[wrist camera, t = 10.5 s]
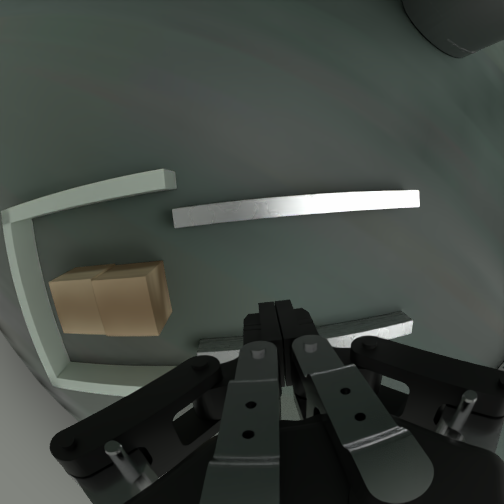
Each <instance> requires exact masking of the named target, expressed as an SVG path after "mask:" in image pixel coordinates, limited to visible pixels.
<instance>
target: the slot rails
mask: <svg viewBox="0 0 504 504" xmlns="http://www.w3.org/2000/svg"><path fill="white" fill-rule="evenodd" d="M406 207H420V205H419V190H375V191H351V192H332V193H316V194H301V195H288V196H276V197H265V198H255V199H245V200H235V201H226V202H217V203H209V204H201V205H193V206H185V207H178V208H175V209H172V213H173V220H174V228H180V227H188V226H196V225H204V224H213V223H222V222H231V221H241V220H250V219H260V218H271V217H281V216H292V215H304V214H316V213H328V212H342V211H356V210H371V209H388V208H406ZM412 325H413V320H412V319H411V318H410V317H408V316H407V315H406V314H405V313H404V312H402V311H399V312H395V313H390V314H386V315H381V316H376V317H371V318H366V319H361V320H355V321H350V322H344V323H339V324H333V325H326V326H320V327H316V329H317V331H318V333H319V335H320V336H322V337H324V338H326V339H327V340H328V341H329V343H330V344H331V346H333V347H339V348H351V343H352V341H353V340H354V339H356V338H358V337H361V336H368V335H370V336H377V337H380V338H384V339H391V338H395V337H399V336H403V335H407V334H410V333H411V332H412ZM242 347H243V336H238V337H227V338H213V339H200V343H199V347H198V351H197V355H198V356H199V355H210V356H214V357H216V358H217V359H218V360H219V361H220V364H221V363H224V362H228V361H231V360H233V359H235V358H237V357H238V356H239V351H240V349H241V348H242Z"/></svg>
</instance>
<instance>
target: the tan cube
mask: <svg viewBox="0 0 504 504" xmlns="http://www.w3.org/2000/svg"><path fill="white" fill-rule="evenodd" d="M91 282H92V286H93V290H94V294H95V298H96V302H97V306H98V309H99V313H100V316H101V320H102V323H103V326H104V330H105V333H106V336H159V334H160V333H161V331H162V329H163V327H164V325H165V323H166V322H167V320H168V318H169V316H170V314H171V313H172V307H171V302H170V297H169V292H168V287H167V282H166V276H165V270H164V265H163V261H153V262H143V263H133V264H123V265H115V266H113V267H112V268H110V269H109V270H107V271H105V272H104V273H102V274H101V275H99V276H98V277H96V278H95V279H93V280H92V281H91Z"/></svg>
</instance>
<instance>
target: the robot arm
mask: <svg viewBox="0 0 504 504" xmlns="http://www.w3.org/2000/svg"><path fill="white" fill-rule="evenodd" d="M402 2H403V6H404V8H405V11H406V13H407V14H408V16H409V18H410V19H411V21H412V22H413V23H414V25H415V26H416V27H417V29H418V30H419V31H420V32H421V33H422V34H423V35H424V36H425V37H426V38H427V39H428V40H429V41H430V42H431V43H432V44H434V45H435V46H436V47H437V48H439V49H440V50H442V51H443V52H445V53H447V54H449V55H451V56H453V57H457V58H463V57H465V56H468V55H470V54H473V53H475V52H477V51H479V50H481V49H483V48H485V47H488V46H490V45H493V44H495V43H497V42H499V41H502V40H504V0H402ZM258 304H259V313H255V314H248V315H247V316H246V317H245V319H244V329H243V330H244V331H243V347H242V348H241V349H240V351H239V356H238V357H237V358H235V359H233V360H231V361H228V362H224V363H221V364H220V361H219V360H218V359H217V358H216V357H214V356H210V355H199V356H195V357H192V358H190V359H188V360H186V361H185V362H183V363H182V364H180V365H178V366H177V367H175V368H173V369H172V370H170V371H168V372H167V373H165V374H164V375H162V376H160V377H159V378H157V379H155V380H153V381H152V382H150V383H148V384H147V385H145V386H143V387H142V388H140V389H138V390H136V391H135V392H133V393H131V394H129V395H128V396H126V397H124V398H122V399H121V400H119V401H117V402H115V403H113V404H112V405H110V406H108V407H106V408H104V409H102V410H101V411H99V412H97V413H95V414H93V415H91V416H89V417H87V418H85V419H84V420H82V421H80V422H78V423H76V424H74V425H72V426H70V427H68V428H66V429H64V430H62V431H60V432H59V433H57V434H56V435H55V436H54V437H53V438H52V440H51V443H50V451H51V453H52V455H53V456H54V457H55V458H56V459H57V461H58V462H59V463H60V464H61V465H62V466H63V467H64V469H65V471H66V472H67V473H68V474H69V475H70V477H71V478H72V479H73V480H75V482H76V483H77V484H78V485H79V486H80V487H81V488H82V489H83V491H84V492H85V493H86V495H87V496H88V498H89V499H90V501H91V502H92V503H93V504H504V462H503V460H502V459H501V458H500V457H499V456H498V455H496V454H495V451H496V448H497V445H498V441H499V438H500V434H501V430H502V426H503V422H504V371H502V370H498V369H494V368H489V367H485V366H481V365H477V364H473V363H469V362H465V361H461V360H458V359H454V358H450V357H446V356H443V355H439V354H435V353H432V352H428V351H424V350H421V349H417V348H414V347H410V346H407V345H404V344H400V343H397V342H394V341H390V340H387V339H384V338H380V337H377V336H370V335H368V336H361V337H358V338H356V339H354V340H353V341H352V343H351V348H339V347H333V346H331V344H330V343H329V341H328V340H327V339H326V338H324V337H322V336H320V335H319V333H318V331H317V329H316V327H315V325H314V323H313V321H312V319H311V316H310V314H309V312H307V311H306V310H304V309H303V308H299V309H293V306H292V304H291V301H290V300H282V301H275V306H274V302H264V303H258ZM382 375H384V376H387V377H389V378H392V379H395V380H398V381H401V382H403V383H405V384H406V385H407V386H408V387H409V389H410V393H409V395H408V394H405V393H402V392H400V391H397V390H394V389H391V388H389V387H386V386H383V385H381V380H382ZM284 376H285V379H284ZM285 381H286V386H291V385H293V392H294V401H295V404H296V407H297V410H298V413H299V416H300V419H301V420H299V421H292V420H281V399H280V396H281V394H282V389H281V387H284V386H285ZM192 402H193V406H194V407H193V408H191V409H190V410H189V411H187V412H186V413H184V414H183V415H182V416H180V417H179V418H177V419H176V420H175V421H173V418H174V416H175V415H176V414H177V413H178V412H179V411H181V410H182V409H183V408H185V407H186V406H188V405H189V404H190V403H192ZM218 432H219V433H218ZM216 433H218V435H216V436H214V435H215V434H216ZM213 436H214V437H213ZM174 466H175V467H174ZM170 469H171V470H170ZM166 472H167V473H166ZM165 473H166V474H165ZM163 474H164V475H163ZM162 475H163V476H162ZM161 476H162V477H161ZM159 477H160V478H159ZM158 478H159V479H158Z"/></svg>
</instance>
